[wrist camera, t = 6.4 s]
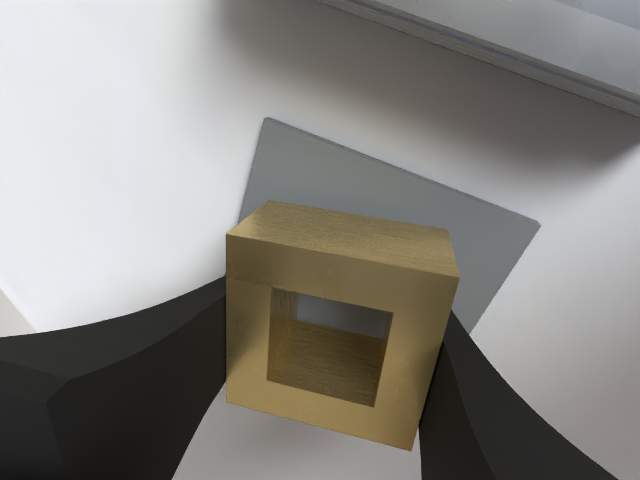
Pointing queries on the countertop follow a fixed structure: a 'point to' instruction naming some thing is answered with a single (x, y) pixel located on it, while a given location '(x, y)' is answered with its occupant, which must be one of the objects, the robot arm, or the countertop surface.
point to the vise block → (531, 39)
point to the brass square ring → (329, 343)
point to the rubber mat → (388, 203)
